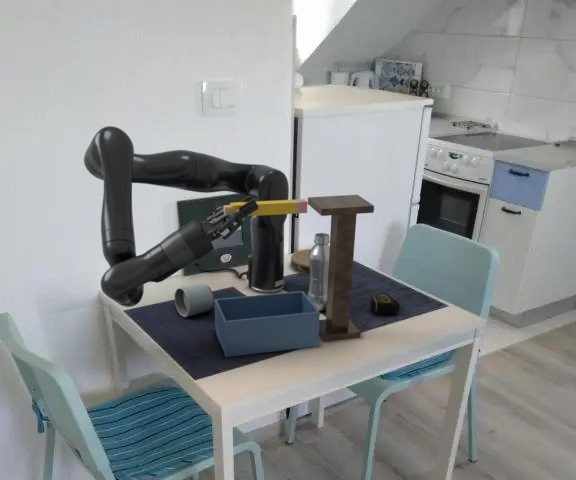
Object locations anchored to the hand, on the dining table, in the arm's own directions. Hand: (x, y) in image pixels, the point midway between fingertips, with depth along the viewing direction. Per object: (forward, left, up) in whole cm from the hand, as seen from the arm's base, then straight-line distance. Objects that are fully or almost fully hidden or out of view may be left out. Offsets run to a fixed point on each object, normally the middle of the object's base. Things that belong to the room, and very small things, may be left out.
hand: (254, 201), depth 131 cm
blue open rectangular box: (+2, +2, -33) cm, 33 cm away
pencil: (+2, +2, -3) cm, 4 cm away
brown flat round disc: (-7, +54, -33) cm, 64 cm away
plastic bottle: (+6, +24, -33) cm, 42 cm away
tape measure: (+22, +31, -33) cm, 51 cm away
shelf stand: (+15, +13, -33) cm, 38 cm away
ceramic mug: (-23, +7, -33) cm, 41 cm away
